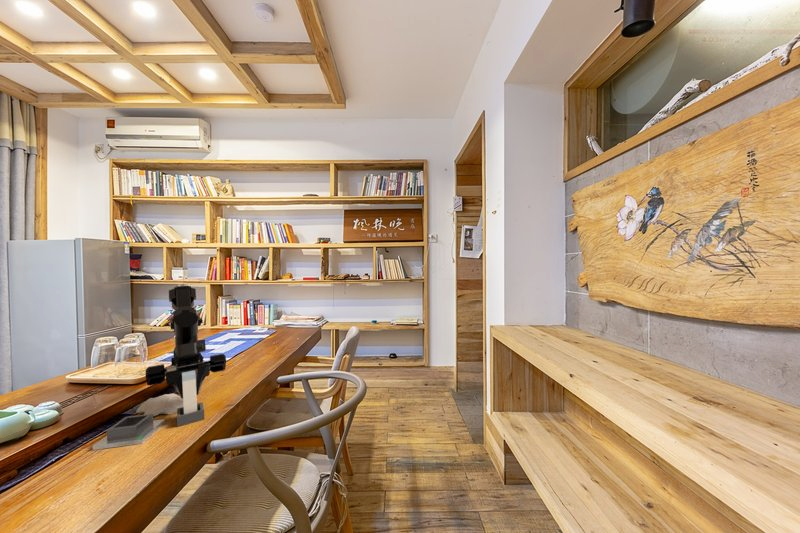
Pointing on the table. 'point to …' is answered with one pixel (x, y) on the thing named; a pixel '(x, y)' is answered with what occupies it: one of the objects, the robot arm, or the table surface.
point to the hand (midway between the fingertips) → (189, 396)
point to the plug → (189, 391)
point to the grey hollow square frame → (190, 415)
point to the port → (129, 431)
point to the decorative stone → (161, 405)
